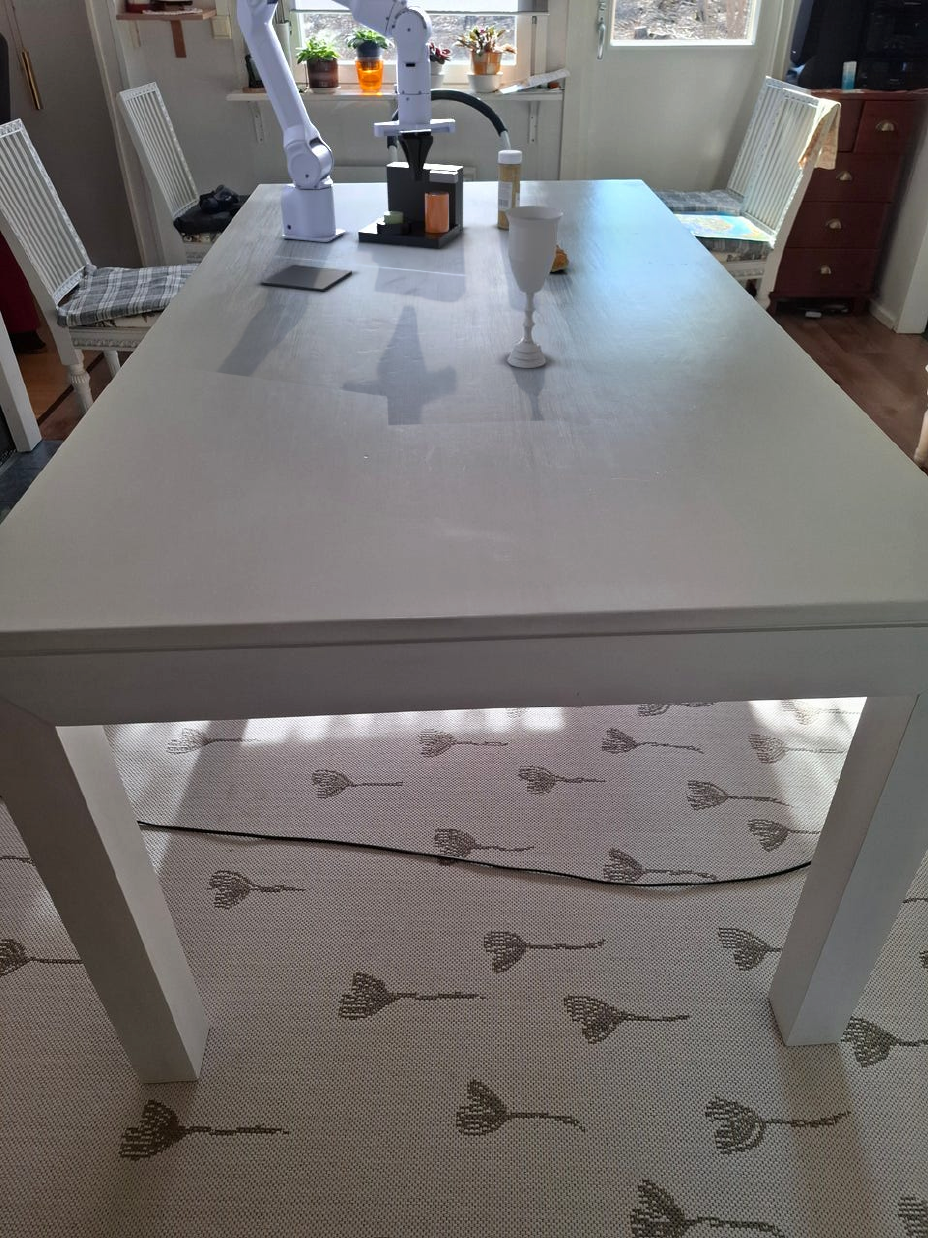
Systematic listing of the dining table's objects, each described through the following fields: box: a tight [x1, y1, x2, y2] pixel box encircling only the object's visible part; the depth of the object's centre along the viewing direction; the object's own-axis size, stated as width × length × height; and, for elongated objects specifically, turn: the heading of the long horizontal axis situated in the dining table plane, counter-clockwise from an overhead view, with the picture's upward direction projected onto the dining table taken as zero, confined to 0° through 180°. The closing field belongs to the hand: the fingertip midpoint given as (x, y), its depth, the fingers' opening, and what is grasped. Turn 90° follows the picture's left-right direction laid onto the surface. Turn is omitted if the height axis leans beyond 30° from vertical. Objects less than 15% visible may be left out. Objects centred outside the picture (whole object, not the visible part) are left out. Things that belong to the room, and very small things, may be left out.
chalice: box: [506, 205, 563, 369], centre depth 108 cm, size 7×7×18 cm
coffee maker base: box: [357, 217, 461, 250], centre depth 164 cm, size 16×12×4 cm
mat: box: [260, 264, 353, 293], centre depth 143 cm, size 11×11×1 cm
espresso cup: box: [425, 191, 449, 233], centre depth 161 cm, size 4×4×6 cm
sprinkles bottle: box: [496, 149, 523, 230], centre depth 169 cm, size 5×5×13 cm
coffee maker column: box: [385, 161, 464, 231], centre depth 168 cm, size 14×6×11 cm, turn 71°
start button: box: [383, 211, 403, 224], centre depth 161 cm, size 4×4×2 cm
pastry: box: [550, 243, 570, 273], centre depth 149 cm, size 9×7×4 cm
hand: (416, 179), depth 157 cm, fingers closed
